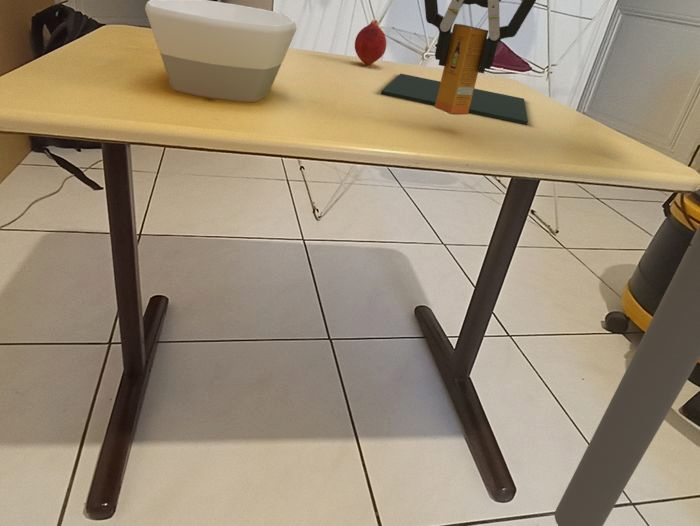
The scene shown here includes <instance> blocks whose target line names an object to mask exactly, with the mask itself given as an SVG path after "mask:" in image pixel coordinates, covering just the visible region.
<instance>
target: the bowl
mask: <svg viewBox="0 0 700 526" xmlns="http://www.w3.org/2000/svg"><path fill="white" fill-rule="evenodd" d="M144 10H145V14H146V16H147V20H148V22H149V25H150V28H151V32H152V34H153V37H154V40H155V43H156V46H157V49H158V51H159V54H160V56H161V59H162V60H161V61H162V62H163V63H162V64H163V66H164V69H165V73H166V75H167V78H168V82H169V85H170V88H171V89H172V90H173V91H174V92H178V93H182V94H187V95H189V96H190V95H191V96H195V97H201V98H206V99H211V100H220V101H227V102H228V101H229V102H240V103H255V102H257V101H260V100H262V99H264V98H265V97H266V96H268V95H269V94H270V92H271V89H272V88H273V85H274V83H275V80H276V77H277V76H278V73H279V70H280V69H281V67H282V64H283V62H284V60H285V57H286V55H287V53H288V51H289V48H290V46H291V44H292V41H293V39H294V36H295V34H296V32H297V25H296V22H295V20H294V18H293V17H291V16H290V15H288V14H286V13H282V12H277V11H273V10H268V9H263V8H258V7H252V6H248V5H247V6H245V5H241V4H236V3H230V2H228V3H227V2H222V1H216V0H215V1H214V0H148V1H147V2H146V3H145V7H144Z"/></svg>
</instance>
